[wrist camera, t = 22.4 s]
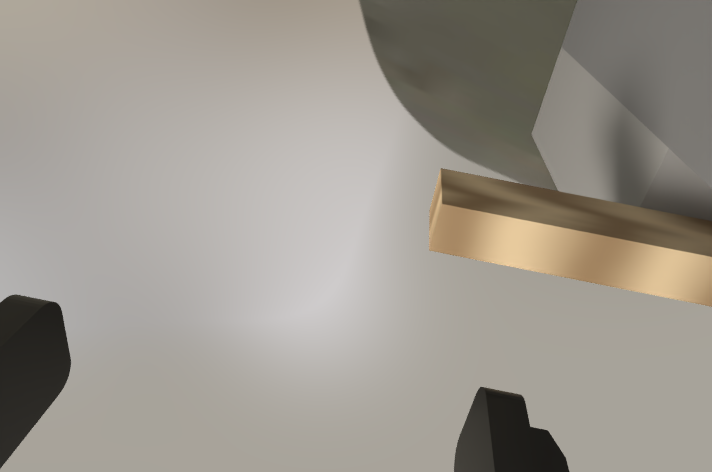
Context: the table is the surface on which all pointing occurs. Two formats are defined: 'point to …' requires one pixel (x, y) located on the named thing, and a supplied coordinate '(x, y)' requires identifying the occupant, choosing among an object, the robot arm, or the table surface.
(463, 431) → the robot arm
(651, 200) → the stand
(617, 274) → the tan wooden bar piece
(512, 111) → the table surface
